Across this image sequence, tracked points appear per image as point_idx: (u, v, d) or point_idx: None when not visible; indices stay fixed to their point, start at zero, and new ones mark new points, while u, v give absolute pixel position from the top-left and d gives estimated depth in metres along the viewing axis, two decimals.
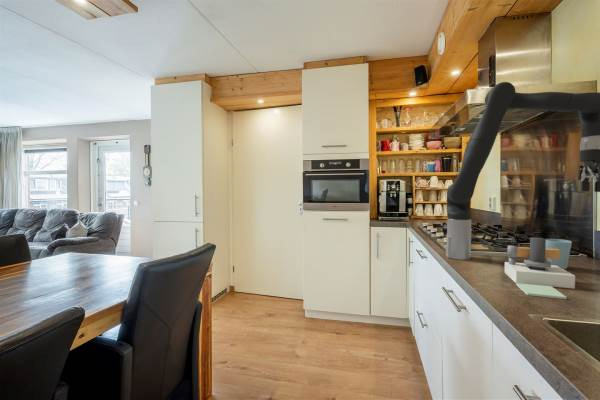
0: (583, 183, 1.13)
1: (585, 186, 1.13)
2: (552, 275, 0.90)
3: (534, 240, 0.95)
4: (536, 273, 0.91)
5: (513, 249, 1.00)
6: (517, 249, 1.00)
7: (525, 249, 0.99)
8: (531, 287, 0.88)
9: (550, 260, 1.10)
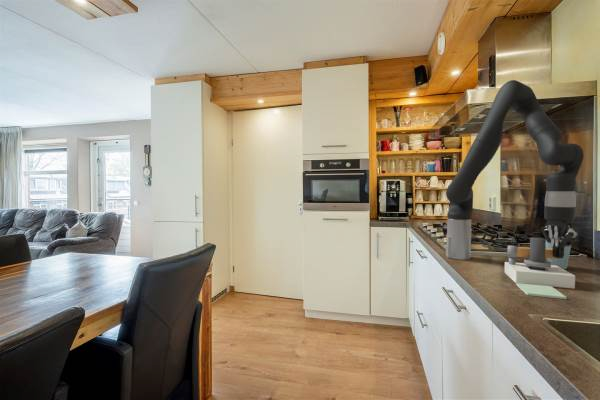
0: None
1: None
2: (552, 275, 0.90)
3: (534, 240, 0.95)
4: (536, 273, 0.91)
5: (513, 249, 1.00)
6: (517, 249, 1.00)
7: (525, 249, 0.99)
8: (531, 287, 0.88)
9: (550, 260, 1.10)
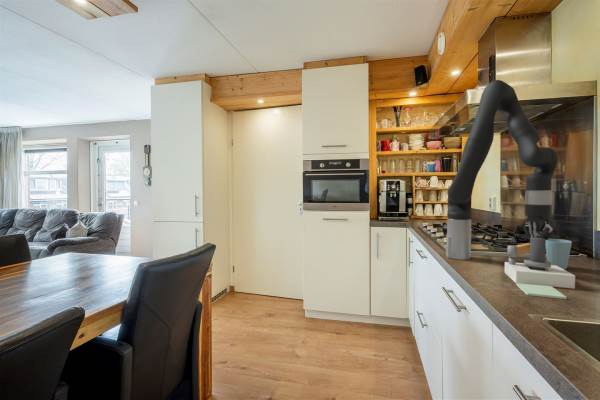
0: None
1: None
2: (552, 275, 0.90)
3: (534, 240, 0.95)
4: (536, 273, 0.91)
5: (516, 249, 1.00)
6: (517, 248, 1.01)
7: (520, 247, 1.02)
8: (531, 287, 0.88)
9: (550, 260, 1.10)
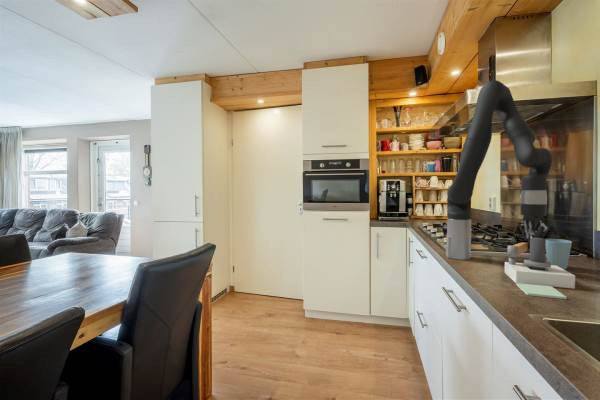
0: None
1: None
2: (552, 275, 0.90)
3: (534, 240, 0.95)
4: (536, 273, 0.91)
5: (516, 249, 1.00)
6: (516, 248, 1.01)
7: (518, 247, 1.03)
8: (531, 287, 0.88)
9: (550, 260, 1.10)
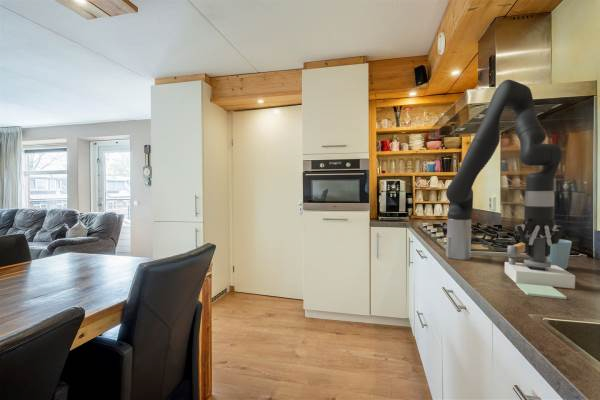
0: None
1: None
2: (552, 275, 0.90)
3: (534, 240, 0.95)
4: (536, 273, 0.91)
5: (516, 249, 1.00)
6: (516, 248, 1.01)
7: (518, 247, 1.03)
8: (531, 287, 0.88)
9: (550, 260, 1.10)
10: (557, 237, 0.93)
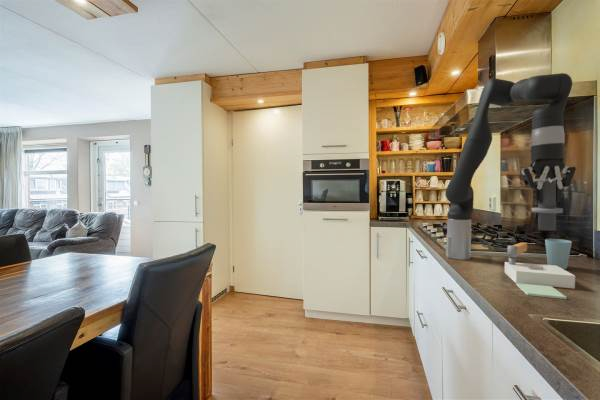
0: None
1: None
2: (552, 275, 0.90)
3: (543, 184, 0.84)
4: (536, 273, 0.91)
5: (516, 249, 1.00)
6: (516, 248, 1.01)
7: (518, 247, 1.03)
8: (531, 287, 0.88)
9: (550, 260, 1.10)
10: (569, 179, 0.83)
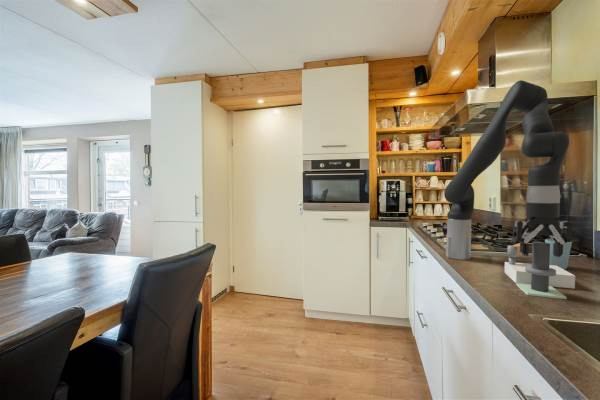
0: None
1: None
2: None
3: (537, 245, 0.84)
4: None
5: (516, 249, 1.00)
6: (516, 248, 1.01)
7: (518, 247, 1.03)
8: None
9: (550, 260, 1.10)
10: (568, 235, 0.83)
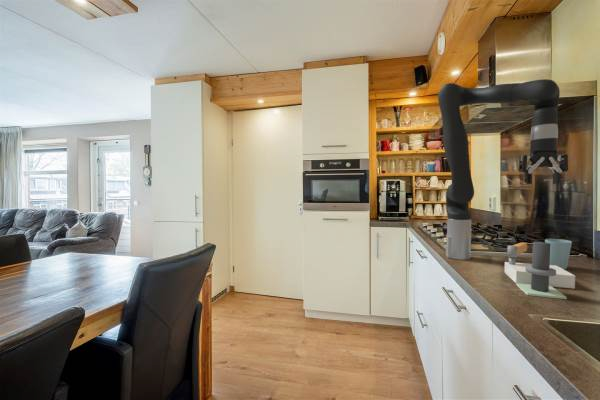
0: None
1: None
2: None
3: (537, 245, 0.84)
4: None
5: (516, 249, 1.00)
6: (516, 248, 1.01)
7: (518, 247, 1.03)
8: None
9: (550, 260, 1.10)
10: (565, 165, 1.00)
